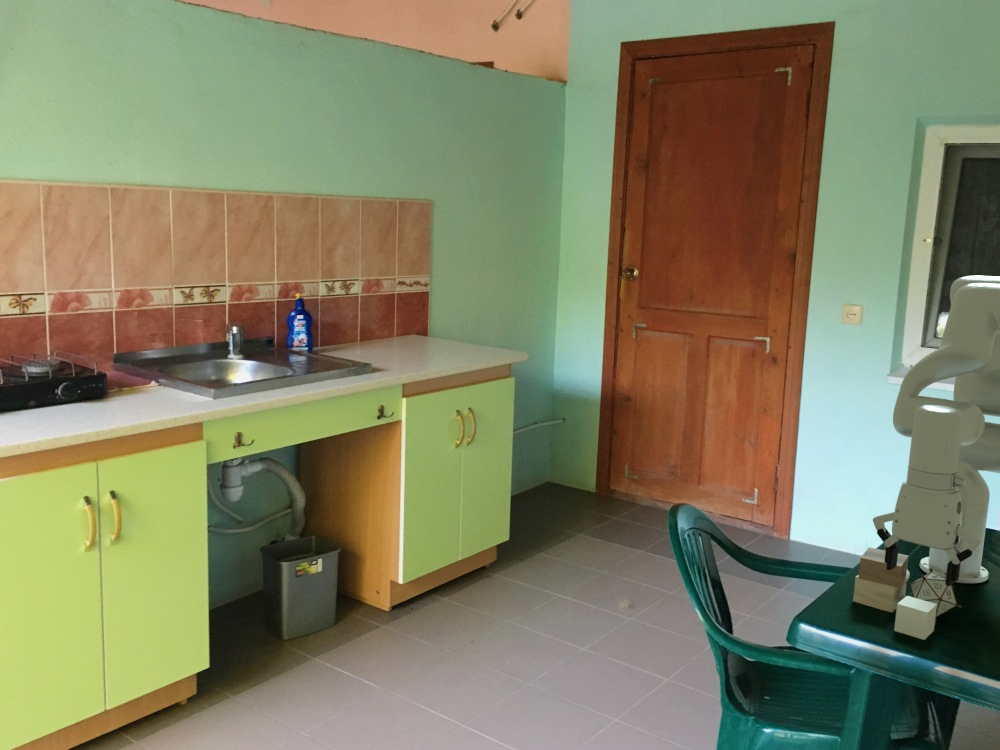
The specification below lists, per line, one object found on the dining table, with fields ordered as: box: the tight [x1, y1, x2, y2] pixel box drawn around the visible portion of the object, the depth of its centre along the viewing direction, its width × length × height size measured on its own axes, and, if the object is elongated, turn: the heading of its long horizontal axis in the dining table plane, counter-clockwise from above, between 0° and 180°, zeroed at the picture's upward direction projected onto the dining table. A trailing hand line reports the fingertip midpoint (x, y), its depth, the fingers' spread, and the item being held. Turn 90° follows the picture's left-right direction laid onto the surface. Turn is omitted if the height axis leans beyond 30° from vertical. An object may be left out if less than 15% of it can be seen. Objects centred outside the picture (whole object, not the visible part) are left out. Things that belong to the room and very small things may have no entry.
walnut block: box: [858, 547, 909, 588], centre depth 172 cm, size 7×7×4 cm
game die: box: [905, 568, 962, 623], centre depth 167 cm, size 9×8×10 cm
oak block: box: [852, 574, 908, 613], centre depth 172 cm, size 7×7×5 cm
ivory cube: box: [894, 595, 937, 641], centre depth 160 cm, size 5×5×5 cm
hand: (920, 575), depth 159 cm, fingers open, 9 cm apart
